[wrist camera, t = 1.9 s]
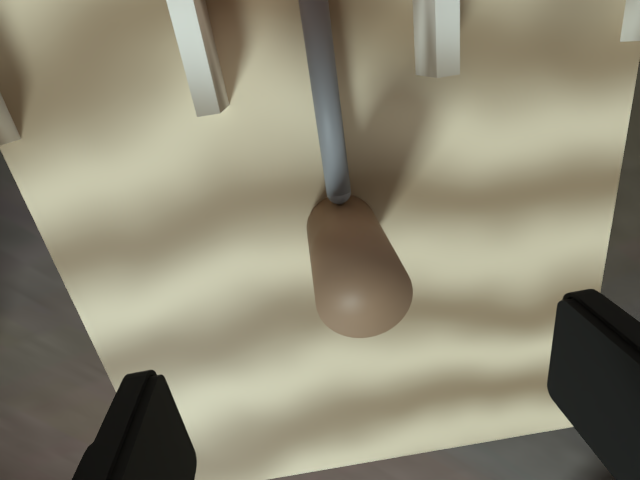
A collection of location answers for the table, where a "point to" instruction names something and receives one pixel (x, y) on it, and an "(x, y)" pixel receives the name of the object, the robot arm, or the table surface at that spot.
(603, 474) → the table surface
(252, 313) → the lane shelf
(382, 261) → the spoon
